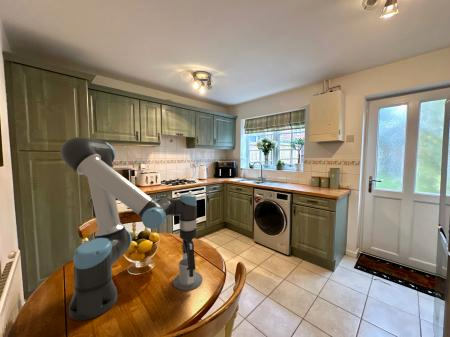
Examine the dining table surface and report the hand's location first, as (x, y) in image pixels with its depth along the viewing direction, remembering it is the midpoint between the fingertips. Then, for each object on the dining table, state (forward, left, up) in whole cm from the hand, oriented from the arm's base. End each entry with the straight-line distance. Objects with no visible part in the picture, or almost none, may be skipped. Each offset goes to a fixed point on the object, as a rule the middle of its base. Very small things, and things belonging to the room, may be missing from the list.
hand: (188, 274), depth 87 cm
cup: (0, 0, -3) cm, 3 cm away
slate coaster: (0, 0, -3) cm, 3 cm away
